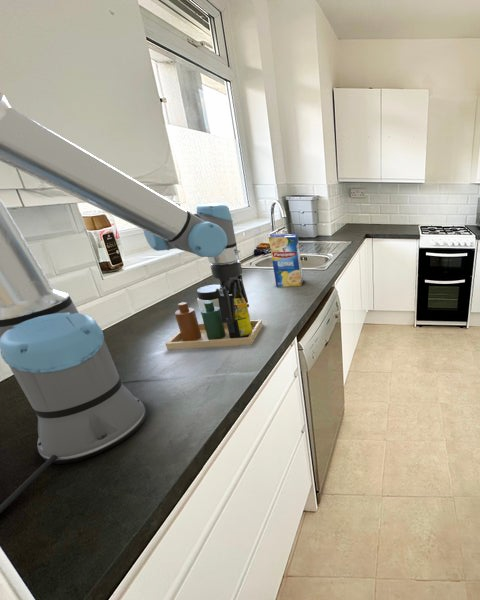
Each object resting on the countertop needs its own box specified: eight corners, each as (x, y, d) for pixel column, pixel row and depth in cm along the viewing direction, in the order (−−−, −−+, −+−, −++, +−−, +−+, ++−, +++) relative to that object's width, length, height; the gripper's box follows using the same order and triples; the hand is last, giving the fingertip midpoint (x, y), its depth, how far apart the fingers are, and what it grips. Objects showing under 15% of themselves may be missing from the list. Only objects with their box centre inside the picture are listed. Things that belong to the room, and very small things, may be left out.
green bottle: (222, 340, 93) (213, 305, 89) (205, 341, 93) (195, 305, 88) (228, 332, 98) (220, 298, 93) (211, 333, 97) (203, 299, 93)
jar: (204, 329, 101) (195, 294, 97) (202, 320, 108) (194, 287, 103) (234, 322, 106) (227, 289, 101) (231, 314, 112) (224, 282, 108)
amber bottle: (197, 341, 92) (187, 306, 88) (179, 342, 92) (168, 307, 87) (204, 333, 97) (195, 299, 92) (187, 334, 96) (177, 300, 92)
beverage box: (301, 285, 141) (295, 236, 132) (276, 286, 139) (268, 237, 131) (303, 280, 147) (297, 233, 138) (279, 282, 145) (271, 234, 137)
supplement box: (253, 335, 95) (247, 302, 91) (232, 341, 92) (224, 307, 88) (249, 327, 100) (243, 296, 96) (229, 333, 97) (221, 300, 92)
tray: (251, 346, 91) (250, 338, 90) (168, 352, 88) (165, 343, 87) (263, 327, 103) (261, 319, 102) (189, 331, 100) (187, 323, 99)
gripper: (225, 272, 78) (242, 350, 87) (250, 252, 97) (262, 318, 106) (193, 273, 77) (214, 352, 86) (224, 253, 96) (239, 319, 105)
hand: (240, 333), depth 96 cm, fingers closed on supplement box, 8 cm apart
